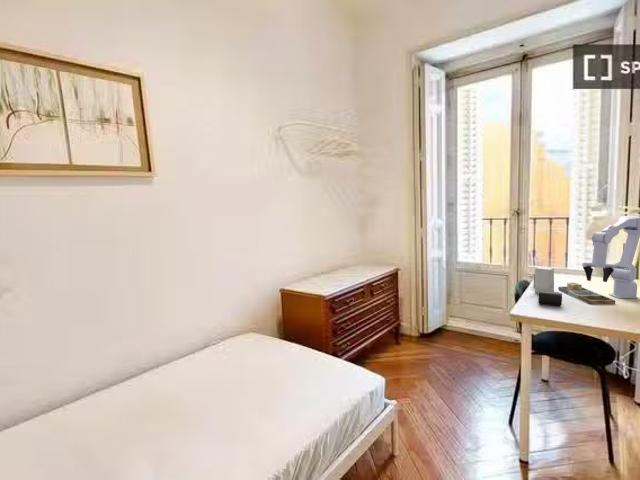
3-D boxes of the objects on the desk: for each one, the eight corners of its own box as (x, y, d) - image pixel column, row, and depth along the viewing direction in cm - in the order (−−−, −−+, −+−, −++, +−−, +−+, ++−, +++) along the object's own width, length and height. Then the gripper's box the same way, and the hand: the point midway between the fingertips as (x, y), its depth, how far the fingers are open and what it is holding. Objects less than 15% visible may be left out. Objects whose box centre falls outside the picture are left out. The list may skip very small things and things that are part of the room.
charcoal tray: (580, 289, 215) (580, 286, 215) (590, 294, 206) (590, 290, 206) (558, 289, 216) (558, 286, 216) (567, 294, 207) (567, 290, 207)
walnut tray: (602, 299, 196) (603, 295, 195) (615, 304, 187) (615, 300, 186) (578, 299, 197) (578, 295, 196) (589, 304, 188) (589, 300, 187)
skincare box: (554, 293, 208) (555, 268, 206) (548, 295, 205) (550, 269, 203) (538, 291, 215) (539, 266, 213) (533, 292, 212) (534, 267, 210)
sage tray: (590, 294, 205) (591, 290, 205) (602, 298, 196) (602, 295, 196) (568, 294, 206) (568, 290, 206) (578, 298, 197) (578, 295, 197)
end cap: (538, 305, 188) (538, 292, 187) (538, 301, 194) (538, 289, 193) (561, 308, 183) (562, 294, 182) (560, 304, 189) (561, 291, 189)
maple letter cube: (575, 291, 213) (576, 282, 213) (581, 293, 208) (581, 284, 208) (566, 291, 214) (567, 282, 213) (571, 293, 209) (572, 284, 208)
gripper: (588, 255, 187) (585, 281, 188) (620, 257, 184) (617, 283, 186) (581, 253, 194) (578, 279, 195) (611, 255, 191) (608, 281, 193)
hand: (596, 281), depth 191 cm, fingers open, 7 cm apart
